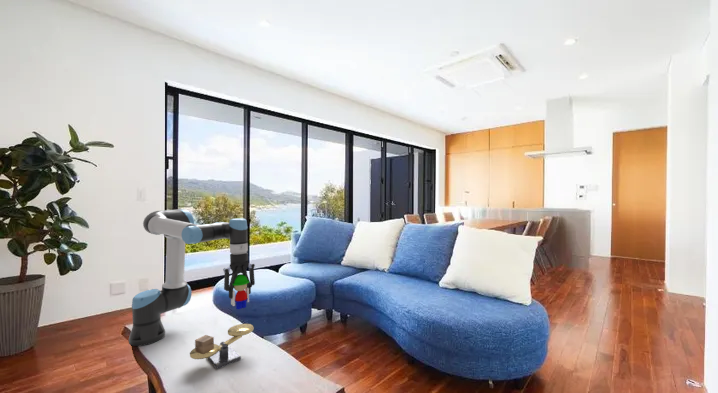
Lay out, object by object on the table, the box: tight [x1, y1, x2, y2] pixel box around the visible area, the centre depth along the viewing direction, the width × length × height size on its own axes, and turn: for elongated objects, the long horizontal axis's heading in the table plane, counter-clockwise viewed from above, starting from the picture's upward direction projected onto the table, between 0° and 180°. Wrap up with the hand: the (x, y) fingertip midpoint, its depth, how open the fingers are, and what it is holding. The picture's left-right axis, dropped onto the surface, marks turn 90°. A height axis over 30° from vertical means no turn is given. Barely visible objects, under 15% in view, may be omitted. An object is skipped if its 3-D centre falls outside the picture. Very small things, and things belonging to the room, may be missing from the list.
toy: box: [233, 273, 250, 310], centre depth 140 cm, size 8×8×15 cm
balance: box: [189, 323, 255, 370], centre depth 135 cm, size 12×26×11 cm, turn 133°
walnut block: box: [194, 334, 215, 354], centre depth 130 cm, size 5×5×5 cm
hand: (240, 303), depth 140 cm, fingers closed on toy, 6 cm apart
